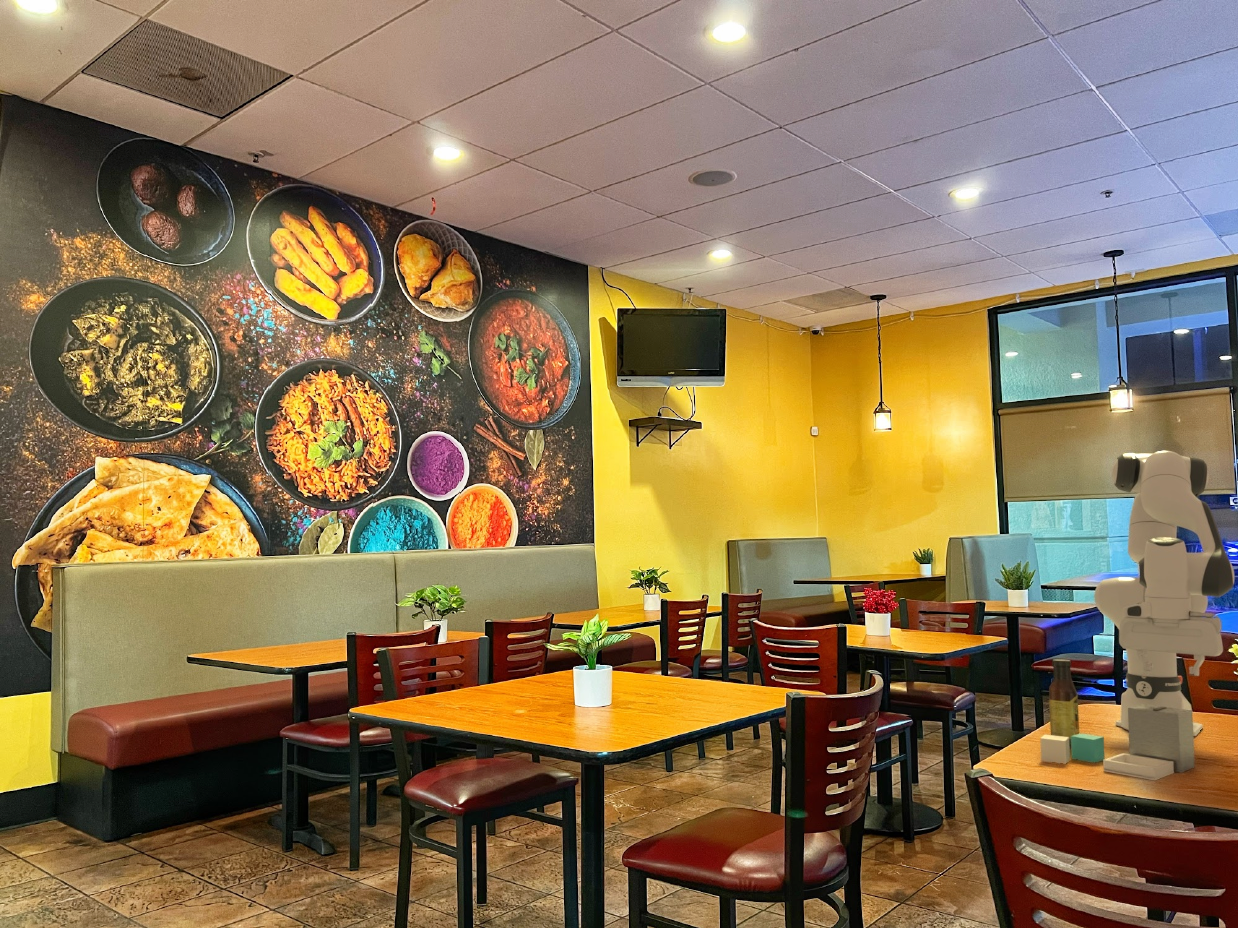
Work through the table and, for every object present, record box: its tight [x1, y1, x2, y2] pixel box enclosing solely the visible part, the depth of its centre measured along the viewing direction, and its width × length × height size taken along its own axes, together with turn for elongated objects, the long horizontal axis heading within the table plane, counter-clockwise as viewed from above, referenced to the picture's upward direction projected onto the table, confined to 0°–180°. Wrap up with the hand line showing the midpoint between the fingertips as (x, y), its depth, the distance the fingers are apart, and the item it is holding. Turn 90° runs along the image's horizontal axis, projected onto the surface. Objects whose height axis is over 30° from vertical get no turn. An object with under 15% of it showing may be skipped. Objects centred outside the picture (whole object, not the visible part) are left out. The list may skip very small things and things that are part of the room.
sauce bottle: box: [1048, 658, 1080, 748], centre depth 224 cm, size 7×6×20 cm
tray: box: [1102, 752, 1175, 781], centre depth 197 cm, size 10×10×2 cm
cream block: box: [1040, 734, 1071, 765], centre depth 207 cm, size 5×5×5 cm
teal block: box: [1070, 732, 1106, 764], centre depth 208 cm, size 5×5×5 cm
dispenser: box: [1128, 704, 1196, 774], centre depth 203 cm, size 8×10×12 cm
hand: (1170, 672), depth 208 cm, fingers open, 8 cm apart
